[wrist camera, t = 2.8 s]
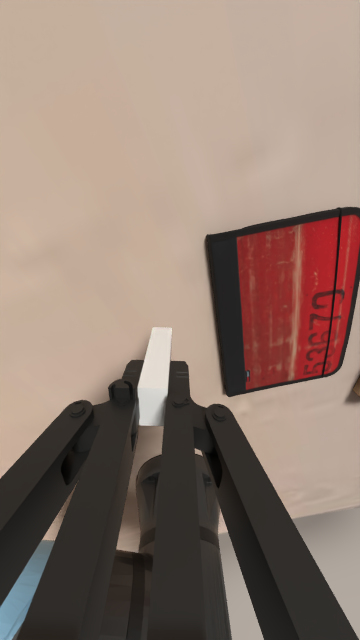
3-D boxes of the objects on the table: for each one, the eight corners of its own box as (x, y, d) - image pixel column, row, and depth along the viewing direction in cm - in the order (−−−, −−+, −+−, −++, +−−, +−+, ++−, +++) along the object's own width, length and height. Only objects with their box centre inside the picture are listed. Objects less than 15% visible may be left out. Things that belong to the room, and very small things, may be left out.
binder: (227, 399, 28) (207, 234, 20) (223, 387, 30) (203, 234, 22) (346, 377, 28) (377, 200, 19) (333, 367, 30) (356, 203, 21)
